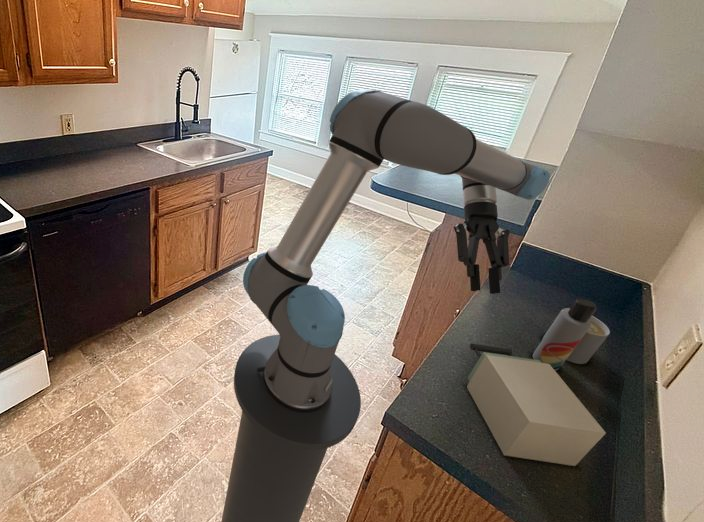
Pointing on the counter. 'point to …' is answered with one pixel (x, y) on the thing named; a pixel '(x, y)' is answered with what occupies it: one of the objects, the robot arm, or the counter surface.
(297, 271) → the robot arm
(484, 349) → the drawer
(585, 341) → the coffee mug
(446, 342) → the counter surface
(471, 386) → the cream rectangular box
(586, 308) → the lotion bottle
